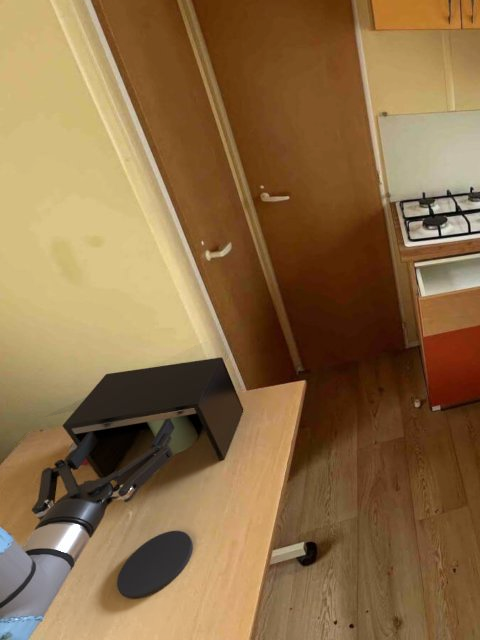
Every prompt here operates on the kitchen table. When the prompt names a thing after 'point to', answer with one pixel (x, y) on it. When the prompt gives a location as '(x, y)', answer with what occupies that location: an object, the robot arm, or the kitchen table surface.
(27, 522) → the kitchen table surface
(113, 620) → the kitchen table surface
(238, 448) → the kitchen table surface
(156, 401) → the dark wooden monitor stand
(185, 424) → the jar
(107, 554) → the kitchen table surface
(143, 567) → the trivet
